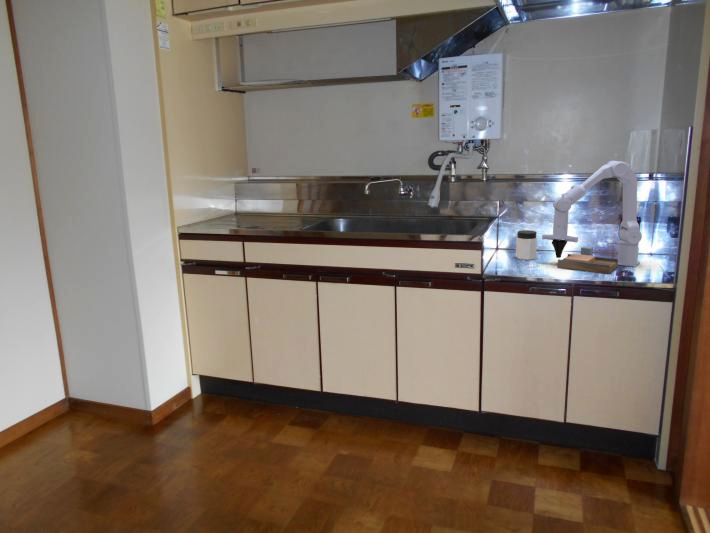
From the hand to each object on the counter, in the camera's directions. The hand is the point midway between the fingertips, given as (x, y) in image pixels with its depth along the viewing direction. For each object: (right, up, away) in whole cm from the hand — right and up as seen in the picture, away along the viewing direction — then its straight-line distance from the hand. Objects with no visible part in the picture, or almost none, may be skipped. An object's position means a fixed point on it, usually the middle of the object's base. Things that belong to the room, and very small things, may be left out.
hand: (558, 257), depth 235 cm
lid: (+7, -1, -5) cm, 9 cm away
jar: (-10, 0, +14) cm, 17 cm away
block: (+14, -1, +6) cm, 16 cm away
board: (+10, -4, -6) cm, 12 cm away
